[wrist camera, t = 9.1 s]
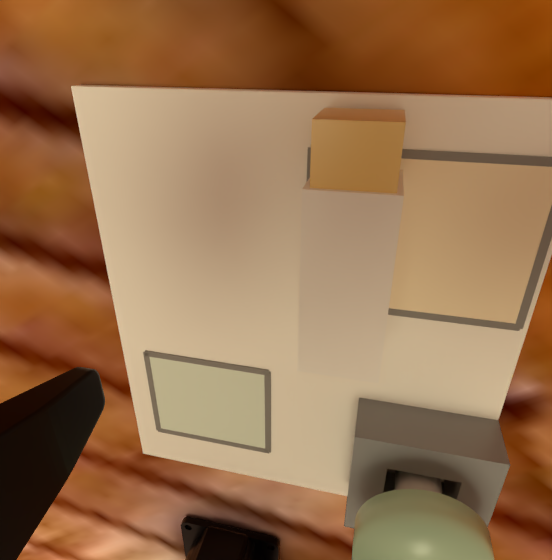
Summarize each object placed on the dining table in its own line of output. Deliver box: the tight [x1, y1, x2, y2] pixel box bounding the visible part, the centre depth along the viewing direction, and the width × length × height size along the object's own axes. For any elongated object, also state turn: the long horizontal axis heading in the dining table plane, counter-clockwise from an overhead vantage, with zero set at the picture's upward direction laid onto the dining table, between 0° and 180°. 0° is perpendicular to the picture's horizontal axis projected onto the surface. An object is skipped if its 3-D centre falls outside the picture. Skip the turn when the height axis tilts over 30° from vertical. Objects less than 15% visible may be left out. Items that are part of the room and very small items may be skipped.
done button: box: [352, 470, 494, 560], centre depth 19 cm, size 5×5×4 cm
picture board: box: [71, 85, 552, 496], centre depth 20 cm, size 20×18×1 cm
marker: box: [297, 108, 406, 383], centre depth 16 cm, size 9×3×3 cm, turn 1°
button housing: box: [344, 397, 510, 528], centre depth 21 cm, size 6×6×3 cm
